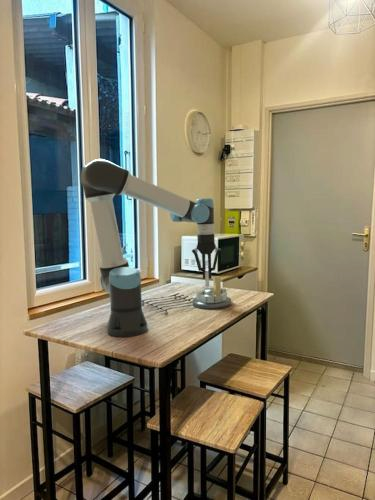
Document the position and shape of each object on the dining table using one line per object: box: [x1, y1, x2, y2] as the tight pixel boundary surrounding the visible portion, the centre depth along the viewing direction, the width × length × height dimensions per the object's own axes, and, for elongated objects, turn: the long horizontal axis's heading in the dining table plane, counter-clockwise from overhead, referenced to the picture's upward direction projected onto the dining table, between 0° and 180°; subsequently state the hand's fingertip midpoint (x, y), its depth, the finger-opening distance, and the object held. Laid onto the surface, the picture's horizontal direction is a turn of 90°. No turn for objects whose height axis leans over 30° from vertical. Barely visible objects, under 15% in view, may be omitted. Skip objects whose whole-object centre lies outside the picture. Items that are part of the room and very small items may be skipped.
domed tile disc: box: [195, 275, 228, 303], centre depth 179 cm, size 14×14×12 cm
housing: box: [192, 287, 232, 310], centre depth 179 cm, size 18×18×7 cm
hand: (207, 285), depth 173 cm, fingers closed
